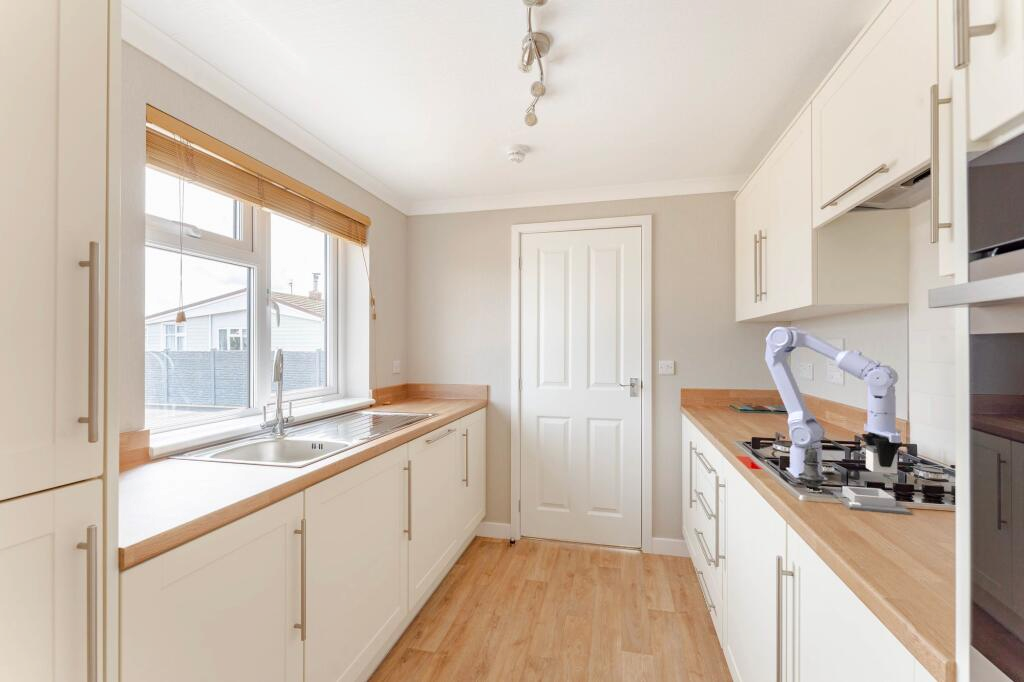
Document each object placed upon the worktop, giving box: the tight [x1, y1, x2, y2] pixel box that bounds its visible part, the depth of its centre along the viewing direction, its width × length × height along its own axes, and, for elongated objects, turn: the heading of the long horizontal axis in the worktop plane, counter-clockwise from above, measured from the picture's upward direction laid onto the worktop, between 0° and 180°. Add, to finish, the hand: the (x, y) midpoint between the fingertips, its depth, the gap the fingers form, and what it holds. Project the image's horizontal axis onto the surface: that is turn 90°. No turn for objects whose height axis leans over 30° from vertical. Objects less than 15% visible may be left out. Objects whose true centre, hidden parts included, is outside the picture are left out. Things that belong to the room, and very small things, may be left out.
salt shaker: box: [798, 445, 825, 491], centre depth 120 cm, size 6×6×12 cm
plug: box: [865, 444, 898, 475], centre depth 118 cm, size 4×5×6 cm
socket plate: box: [829, 485, 912, 516], centre depth 111 cm, size 12×12×3 cm
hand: (881, 464), depth 118 cm, fingers closed on plug, 4 cm apart
